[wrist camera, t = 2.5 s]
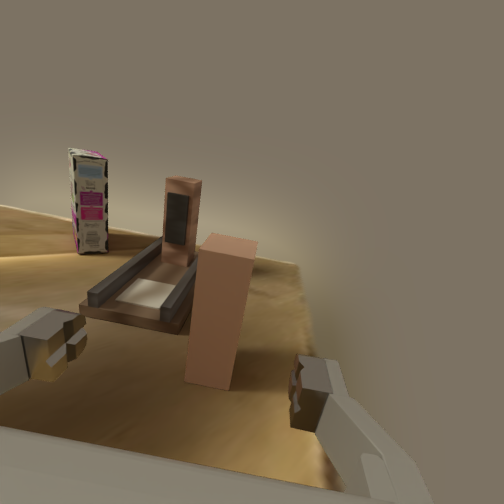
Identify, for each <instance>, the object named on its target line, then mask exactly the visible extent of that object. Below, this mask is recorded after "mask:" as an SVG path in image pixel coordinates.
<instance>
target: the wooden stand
mask: <svg viewBox="0 0 504 504" xmlns="http://www.w3.org/2000/svg"><path fill="white" fill-rule="evenodd" d="M165 186H166V187H165V203H164V221H163V236H162V237H160V238H159V239H158V240H156V241H155V242H154V243H152V244H151V245H149V246H148V247H147V248H145V249H144V250H143V251H141V252H140V253H139V254H137V255H136V256H135V257H133V258H132V259H131V260H129V261H128V262H127V263H125V264H124V265H122V266H121V267H120V268H118V269H117V270H116V271H114V272H113V273H112V274H110V275H109V276H108V277H106V278H105V279H104V280H102V281H101V282H100V283H98V284H97V285H96V286H94V287H93V288H91V289H90V290H89V291H87V296H88V298H87V299H85V300H84V301H83V302H82V303H80V304H79V312H80V314H82V315H84V316H87V317H92V318H97V319H102V320H107V321H112V322H116V323H121V324H126V325H131V326H136V327H141V328H146V329H151V330H156V331H161V332H166V333H171V334H176V335H178V334H179V332H180V330H181V328H182V326H183V324H184V323H185V321H186V319H187V317H188V315H189V313H190V311H191V309H192V307H193V298H194V289H195V280H196V271H197V262H198V253H199V252H195V243H196V234H197V224H198V214H199V205H200V196H201V186H202V180H196V179H191V178H186V177H181V176H172V177H168V178H166V185H165Z"/></svg>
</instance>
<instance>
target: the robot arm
mask: <svg viewBox="0 0 504 504" xmlns="http://www.w3.org/2000/svg"><path fill="white" fill-rule="evenodd" d="M85 325H86V318H85V316H84V315H82V314H79V313H74V312H69V311H64V310H59V309H53V308H49V307H41V308H38V309H37V310H35V311H34V312H32V313H31V314H29V315H28V316H26V317H24V318H23V319H21V320H20V321H18V322H17V323H15V324H14V325H12V326H10V327H9V328H7V329H6V330H4V331H3V332H0V395H1V394H3V393H5V392H7V391H9V390H11V389H13V388H15V387H16V386H18V385H20V384H22V383H24V382H26V381H28V380H29V379H35V380H41V381H48V382H54V381H55V380H56V379H57V378H58V377H59V376H60V375H61V374H62V373H63V372H64V371H65V370H66V369H67V368H68V362H70V361H72V360H75V359H77V358H78V357H79V356H80V354H81V353H82V352H83V350H84V348H85V346H86V343H87V333H86V331H85V330H84V329H83V327H84V326H85ZM288 393H289V399H290V401H291V405H290V409H289V412H290V427H291V428H295V429H300V430H304V431H309V432H313V433H315V435H316V437H317V439H318V440H319V442H320V444H321V445H322V447H323V449H324V450H325V452H326V454H327V455H328V457H329V459H330V460H331V462H332V464H333V465H334V467H335V469H336V470H337V472H338V474H339V475H340V477H341V479H342V480H343V482H344V484H345V485H346V488H345V491H344V493H343V492H338V491H333V490H328V489H322V488H317V487H312V486H307V485H302V484H297V483H292V482H287V481H281V480H276V479H271V478H266V477H261V476H256V475H251V474H246V473H240V472H235V471H230V470H225V469H220V468H215V467H209V466H204V465H199V464H194V463H189V462H184V461H178V460H173V459H168V458H163V457H158V456H153V455H147V454H142V453H137V452H132V451H127V450H122V449H117V448H112V447H107V446H101V445H96V444H91V443H86V442H81V441H76V440H71V439H66V438H60V437H55V436H50V435H45V434H40V433H35V432H30V431H25V430H19V429H14V428H9V427H4V426H0V504H434V501H433V499H432V497H431V495H430V493H429V490H428V488H427V486H426V484H425V482H424V479H423V477H422V475H421V473H420V471H419V469H418V466H417V464H416V462H415V461H414V460H413V459H412V458H411V457H410V456H409V455H408V454H407V453H406V451H404V450H403V448H402V447H401V446H400V445H399V444H398V443H397V442H396V441H395V440H394V439H393V438H392V437H391V436H390V435H389V434H388V433H387V432H386V431H385V430H384V429H383V428H382V427H381V426H380V425H379V424H378V423H377V422H376V421H375V419H374V418H373V417H372V416H371V415H370V414H369V413H368V412H367V411H366V410H365V409H364V408H363V407H362V406H361V405H360V404H359V403H358V402H357V401H356V400H355V399H354V398H350V397H349V394H348V390H347V387H346V384H345V381H344V378H343V375H342V372H341V368H340V365H339V362H338V361H337V360H332V359H326V358H318V357H312V356H307V355H301V354H296V356H295V360H294V370H292V371H291V375H290V379H289V390H288Z"/></svg>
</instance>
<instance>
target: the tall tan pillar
mask: <svg viewBox="0 0 504 504" xmlns="http://www.w3.org/2000/svg"><path fill="white" fill-rule="evenodd" d="M257 244H258V242H256V241H251V240H246V239H241V238H236V237H231V236H226V235H220V234H215V233H211V234H210V235H209V237H208V238H207V239H206V241H205V242H204V243H203V244H202V246H201V247H200V248H199V253H198V262H197V271H196V280H195V289H194V298H193V307H192V316H191V325H190V334H189V343H188V352H187V361H186V370H185V379H184V382H187V383H192V384H197V385H202V386H207V387H212V388H217V389H222V390H227V391H229V387H230V382H231V377H232V372H233V367H234V362H235V356H236V351H237V346H238V341H239V336H240V331H241V326H242V321H243V316H244V311H245V305H246V300H247V295H248V290H249V285H250V280H251V275H252V270H253V265H254V259H255V254H256V249H257Z"/></svg>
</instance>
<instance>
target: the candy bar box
mask: <svg viewBox="0 0 504 504" xmlns="http://www.w3.org/2000/svg"><path fill="white" fill-rule="evenodd" d="M68 153H69V170H70V188H71V205H72V221H73V234H74V238H75V243H76V247H77V252H78V254H96V253H107V252H108V171H107V170H108V166H107V165H108V163H107V161H108V160H107V159H106V158H105V157H103V156H102V155H101V154H99V153H98V152H95V151H89V150H81V149H73V148H68Z"/></svg>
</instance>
